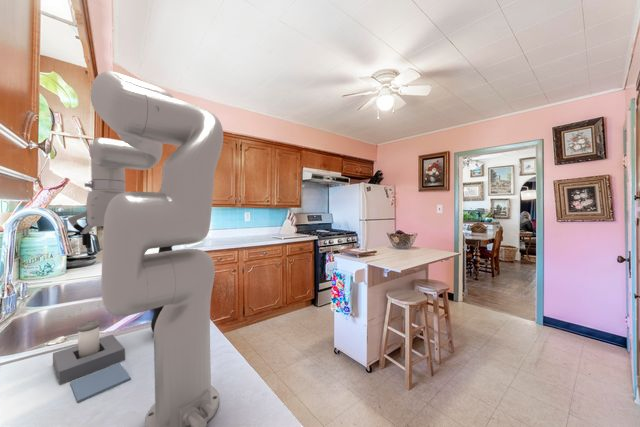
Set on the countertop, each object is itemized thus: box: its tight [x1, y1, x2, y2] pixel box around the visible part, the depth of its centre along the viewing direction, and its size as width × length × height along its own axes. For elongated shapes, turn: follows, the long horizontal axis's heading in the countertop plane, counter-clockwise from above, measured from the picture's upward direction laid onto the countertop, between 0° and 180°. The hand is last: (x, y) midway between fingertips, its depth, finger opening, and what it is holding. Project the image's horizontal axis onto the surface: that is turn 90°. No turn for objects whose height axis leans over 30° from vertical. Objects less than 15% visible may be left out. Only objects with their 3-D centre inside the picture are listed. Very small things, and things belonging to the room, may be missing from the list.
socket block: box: [52, 334, 126, 386], centre depth 65 cm, size 12×12×3 cm
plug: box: [76, 320, 101, 359], centre depth 65 cm, size 4×4×10 cm
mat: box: [69, 362, 132, 404], centre depth 58 cm, size 9×9×1 cm
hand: (110, 245), depth 74 cm, fingers open, 9 cm apart
